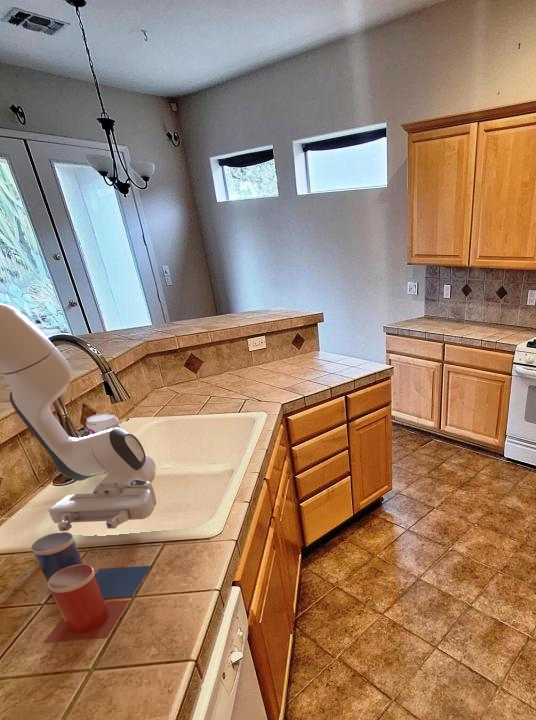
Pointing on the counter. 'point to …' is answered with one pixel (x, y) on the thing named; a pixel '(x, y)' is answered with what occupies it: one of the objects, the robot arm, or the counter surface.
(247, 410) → the counter surface
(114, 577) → the slate-blue mat
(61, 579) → the red tumbler
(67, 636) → the terracotta mat
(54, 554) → the blue tumbler
